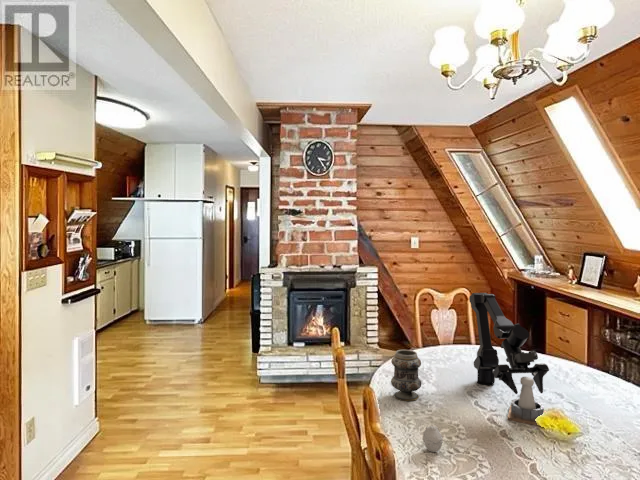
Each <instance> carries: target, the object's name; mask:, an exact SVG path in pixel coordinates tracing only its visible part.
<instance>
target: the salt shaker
mask: <svg viewBox="0 0 640 480" xmlns="http://www.w3.org/2000/svg"><path fill="white" fill-rule="evenodd" d="M519 381H520V384H521V389H520V395H519V398H518V399H519V403H518V406H519V407H521V408H525V409H536V406H535V401H536V400H535V397H534V391H533V387H532V386H534V385H535V382H534V380H533V378H532V377H529V376H522V377H520V380H519Z"/></svg>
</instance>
